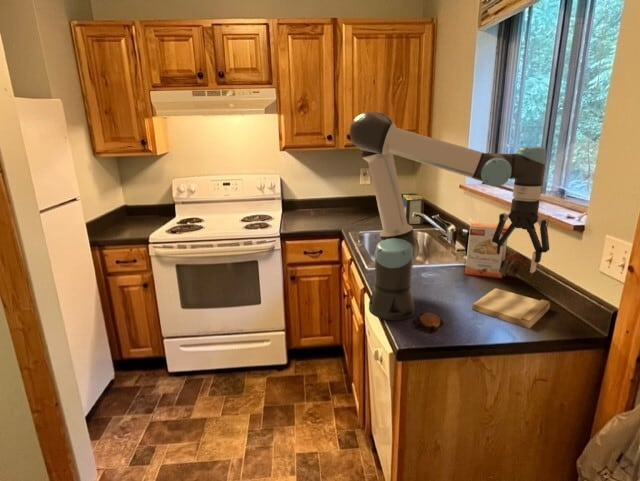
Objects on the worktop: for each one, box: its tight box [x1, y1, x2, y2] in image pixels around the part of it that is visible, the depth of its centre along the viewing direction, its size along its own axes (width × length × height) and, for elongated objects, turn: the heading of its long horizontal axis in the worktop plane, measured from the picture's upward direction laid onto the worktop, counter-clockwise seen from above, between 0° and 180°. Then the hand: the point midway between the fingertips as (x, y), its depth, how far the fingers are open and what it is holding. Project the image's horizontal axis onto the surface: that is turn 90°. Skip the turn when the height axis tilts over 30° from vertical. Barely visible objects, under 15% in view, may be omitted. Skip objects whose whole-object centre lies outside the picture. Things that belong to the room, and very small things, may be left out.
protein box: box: [402, 194, 425, 225], centre depth 244 cm, size 10×15×16 cm
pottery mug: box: [499, 251, 534, 278], centre depth 126 cm, size 12×10×8 cm
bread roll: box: [412, 312, 444, 335], centre depth 121 cm, size 11×8×4 cm
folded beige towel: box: [471, 287, 551, 329], centre depth 130 cm, size 18×18×3 cm
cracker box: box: [464, 222, 509, 279], centre depth 157 cm, size 14×6×21 cm, turn 70°
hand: (516, 267), depth 126 cm, fingers closed on pottery mug, 9 cm apart
